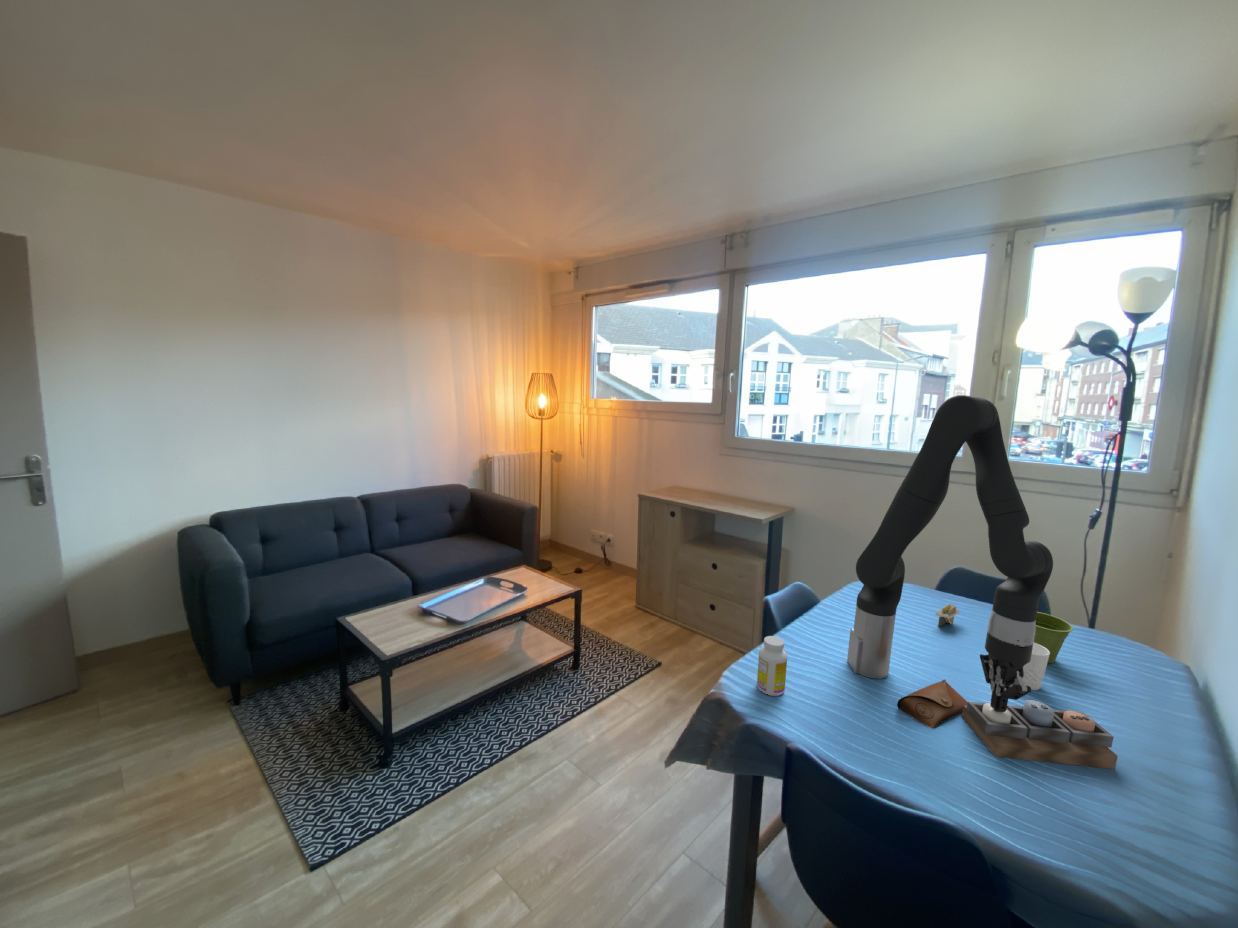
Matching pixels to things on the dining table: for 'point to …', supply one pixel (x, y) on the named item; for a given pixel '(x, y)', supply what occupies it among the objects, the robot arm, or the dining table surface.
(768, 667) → the supplement bottle
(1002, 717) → the button one
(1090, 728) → the button three
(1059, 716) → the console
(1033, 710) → the button two
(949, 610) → the platform
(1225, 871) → the dining table surface
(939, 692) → the sunglasses case
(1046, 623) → the plant pot
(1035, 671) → the white cup
